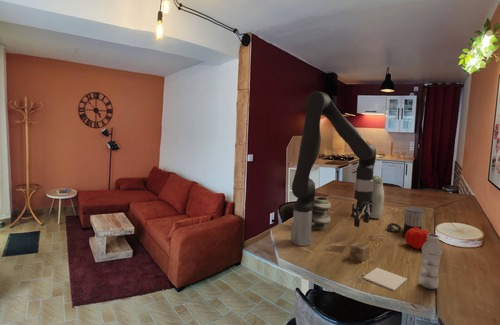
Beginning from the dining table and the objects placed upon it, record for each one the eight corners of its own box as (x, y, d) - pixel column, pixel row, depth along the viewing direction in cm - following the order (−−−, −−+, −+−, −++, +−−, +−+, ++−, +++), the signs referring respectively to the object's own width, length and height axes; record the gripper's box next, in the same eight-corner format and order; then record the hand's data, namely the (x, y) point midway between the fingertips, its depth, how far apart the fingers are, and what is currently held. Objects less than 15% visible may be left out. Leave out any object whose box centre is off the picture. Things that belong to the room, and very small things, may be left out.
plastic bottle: (430, 281, 115) (435, 232, 112) (442, 291, 108) (448, 239, 106) (414, 281, 115) (418, 232, 112) (425, 291, 108) (430, 239, 106)
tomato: (435, 252, 142) (437, 234, 141) (408, 250, 145) (409, 232, 144) (426, 243, 153) (428, 227, 152) (401, 241, 155) (403, 225, 154)
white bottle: (362, 216, 197) (365, 175, 193) (373, 215, 201) (376, 174, 198) (374, 221, 188) (377, 177, 184) (385, 219, 192) (388, 176, 189)
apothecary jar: (307, 230, 170) (309, 199, 167) (309, 223, 181) (311, 194, 179) (329, 232, 166) (331, 201, 164) (330, 225, 178) (332, 196, 175)
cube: (349, 257, 135) (350, 245, 134) (356, 254, 139) (356, 242, 138) (362, 262, 131) (363, 249, 130) (368, 258, 135) (369, 246, 134)
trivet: (363, 278, 117) (363, 276, 117) (376, 268, 125) (376, 267, 125) (394, 291, 108) (394, 289, 108) (407, 280, 116) (407, 278, 116)
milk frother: (425, 238, 160) (427, 211, 158) (395, 237, 161) (397, 211, 159) (411, 229, 174) (413, 204, 173) (384, 228, 175) (386, 204, 173)
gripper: (363, 185, 138) (361, 219, 140) (347, 189, 129) (345, 225, 131) (379, 188, 133) (376, 223, 135) (364, 192, 123) (361, 230, 125)
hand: (361, 224), depth 133 cm, fingers open, 8 cm apart
